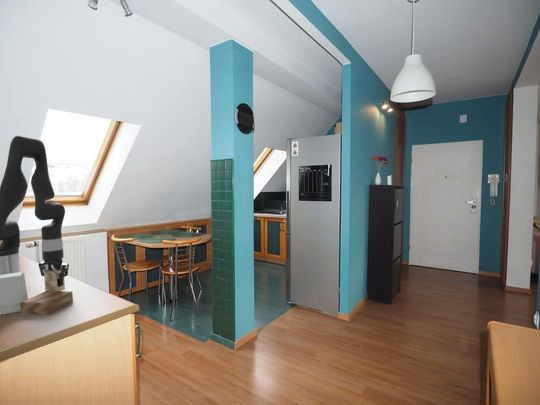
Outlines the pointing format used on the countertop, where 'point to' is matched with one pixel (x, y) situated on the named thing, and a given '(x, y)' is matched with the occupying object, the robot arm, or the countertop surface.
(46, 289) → the oak block
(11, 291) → the skincare box
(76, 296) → the countertop surface
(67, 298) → the walnut box
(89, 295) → the countertop surface
